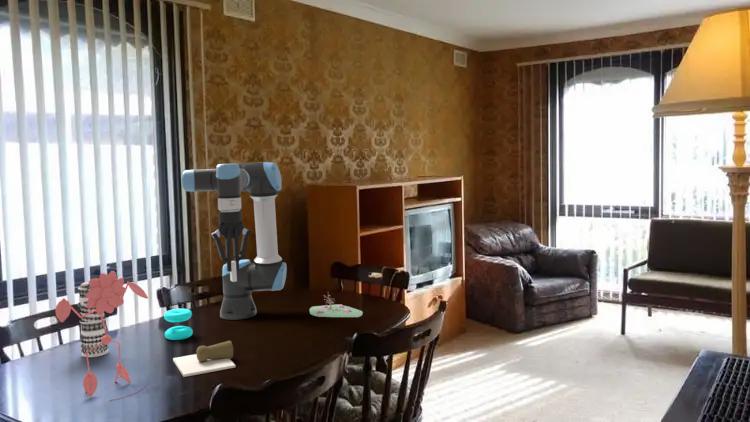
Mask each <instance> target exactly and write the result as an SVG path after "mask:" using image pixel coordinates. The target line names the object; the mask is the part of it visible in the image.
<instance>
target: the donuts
mask: <svg viewBox="0 0 750 422" xmlns="http://www.w3.org/2000/svg"><path fill="white" fill-rule="evenodd" d="M192 316H193V312H192V310H191V309H188V308H175V309H169V310H167V311H166V312H164V315H163V318H164V320H165V321H166V322H169V323H181V322H182V323H183V322H186V321H188V320H189V319H190V318H191V317H192ZM193 331H194V330H193V329H192V327H190V326H186V325H177V326H176V325H175V326H172V327H170V328H168V329H167V330H166V331H165V332H164V337H165V338H166V339H167V340H170V341H180V340H186V339H189V338H190V337H191V336H193Z"/></svg>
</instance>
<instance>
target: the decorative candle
mask: <svg viewBox="0 0 750 422" xmlns="http://www.w3.org/2000/svg"><path fill="white" fill-rule="evenodd" d="M77 289H78V295H79V296H78V301H79V302H78V303H77V305H76V306H77V307H78V308H77V312H78V313H79V314H80V315H81V316H82V315H85V314H87V313H89V312H91V311H93V310H95V309H96V307H93V308H91V309H88V308H87V301H88V299H89V298H86V294H87V293H88V291H89V290H91V289H92V288H91V286H90V285H89V281H84V282H82V283H81V284H80V286H79V287H77ZM106 313H107V312H106V311H104V313H103V314H102V315H103V320H104V323H105V324H106V320H107V316H106ZM78 321H79V323H80V324H81V325H80V327H81V330H80V334H81V335H80V336H79V337H80V338H81V339H80V342H81V343H82V344H81V345H80V348H81V350H80V351H81V356H82V357H84V358H86V352H87V351H89V350H90V349H92V348H94V347H95V346H97V345H99V344H100V343H102V342H101V339H102V337H103V336H105V335H106V334H105V330H104V327H103V324H102V320H101V315H98V314H97V312H96V311H95V312H93V313H91V314H89V315H87V316H85V317H83V318H81V317H79V319H78ZM108 353H109V345H108V344H107V345H105V344H101V345H99V346H98V347H96V348H94V349H93V350H91V351H89V352H88V353H87V355H88V358H97V357H100V356H103V355H106V354H108Z"/></svg>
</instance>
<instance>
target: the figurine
mask: <svg viewBox="0 0 750 422" xmlns="http://www.w3.org/2000/svg"><path fill="white" fill-rule="evenodd" d="M88 282H89V285H90V286H91V288H92V289H91V290H89V291H88V293H87V294H86V298H89V299H88V301H87V308H88V309H91V308H93V307H96V309H95V310H93V311H91V312H89V313H87V314H85V315H82V316H81V315H80V314H79V313H80V312H79V311H78V310H77V309H75V308H74V307H73V305H71V304H70V301H68V299H66V298H62V299H61V300H60V301H59V302H58V303H57V304H56V306H55V309H54V310H55V317H56V318H57V319H58V320H59V322H61V323H64V322H65V321H66V320H67V319H68V317H69V316H70V314H71V311H73V312H74V314H76V315H77V317H79V318H80V317H81V318H83V317H85V316H87V315H89V314H91V313H93V312H95V311H96V312H97V314H98V315H101V320H102V324H103V327H104V330H105V334H106V335H105V336H103V337H102V339H101V342H102V343H100V344H99V345H101V344H105V345H107V346H108V345H109V344H111V342H112V343H115V344H118V359H119V360H118V361H119V362H118V363H116V366H115V369H116V375H115V379H114V383H116V382H117V380H118V378H119V377H120V378H121V379H123V380H124V381H125V382H127V383H131V378H130V374H129V371H128V370H127V368H126V367H125V366H124V365H122V361H121V345H120V344H121V343H120V342H119V341H116V340H113V339H112V336H110V335H108V332H107V326H106V322H105V323H104V320H103V315H102V314H103V313H104V311H106V313H107V314H112V313H113V312H114V310H115V308H119V307H121V306H123V304H124V296H125V294H126V292H127V289H128V287H129V288H130V289H131V291H132V292H133V293H134V294H135V295H137V296H139V297H140V298H144V299H147V300H148V299H149V297H148V295H147V293H146V292H145V290H143V288H142V287H141V286H139V285H138V284H136V283H135V282H131V281H126V286H124V283H125V279H124V277H120V278H118V277H117V273H116V272H115V270H111V271H110V272H109V273H108V274H106V273H104V272H103V273H100V275H99V277H98V278H97V277H95V278H90V279H89V280H88ZM104 314H105V313H104ZM99 345H97V346H95V347H94V348H96V347H98V346H99ZM94 348H92V349H90V350H89V351H91V350H93V349H94ZM89 351H87V352H86V357H85V358H86V363H87V370H88V372H87V373H85V375H84V376H83V377H84V378H83V379H82V380H83V381H82V382H83V383H82V385H83V388H84V391H85V393H86V394H87V395H88V396H89V397H90V398H91V397H92V396H93V395H94V393H95V392H96V390H97V388H98V379H97V376H96V374H95V373H93V372H92V371H91V368H90V363H89V357H88V355H87V353H88V352H89ZM148 384H149V383H147V384H146V385H145V386H144V387H143V388H142V389H140V390H138V391H137V392H136V391H135V392H134V393H131V394H129V395H126V396H123V397H119V398H114V399H110V400H109V402H111V401H116V400H119V399H124V398H126V397H129V396H130V397H132V396H133V395H135V394H137V393H139V392H141V391H142V390H144V389H146V387H148Z"/></svg>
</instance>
